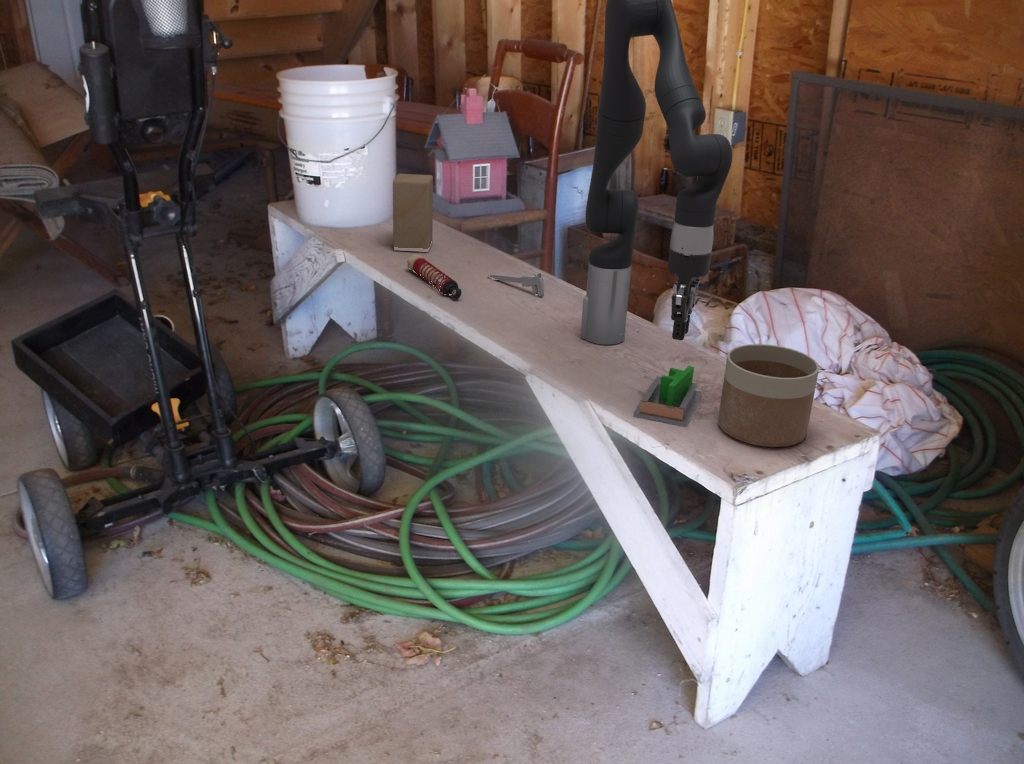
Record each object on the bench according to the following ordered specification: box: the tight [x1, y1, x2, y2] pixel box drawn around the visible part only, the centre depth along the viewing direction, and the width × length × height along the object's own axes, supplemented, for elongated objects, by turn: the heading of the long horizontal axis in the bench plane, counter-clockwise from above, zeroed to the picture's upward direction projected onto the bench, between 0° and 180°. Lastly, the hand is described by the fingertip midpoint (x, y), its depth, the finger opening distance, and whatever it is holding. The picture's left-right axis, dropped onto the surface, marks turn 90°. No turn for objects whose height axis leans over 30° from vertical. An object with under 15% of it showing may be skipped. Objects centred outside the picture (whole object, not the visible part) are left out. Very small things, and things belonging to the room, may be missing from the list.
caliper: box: [489, 272, 545, 297], centre depth 241 cm, size 20×1×6 cm, turn 43°
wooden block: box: [392, 173, 434, 249], centre depth 267 cm, size 10×10×20 cm
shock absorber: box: [407, 253, 462, 299], centre depth 242 cm, size 5×5×30 cm
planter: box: [717, 343, 820, 448], centre depth 171 cm, size 16×16×14 cm
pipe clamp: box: [659, 365, 695, 406], centre depth 183 cm, size 11×4×5 cm, turn 151°
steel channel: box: [632, 375, 703, 427], centre depth 180 cm, size 10×15×3 cm, turn 159°
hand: (680, 335), depth 179 cm, fingers open, 3 cm apart
